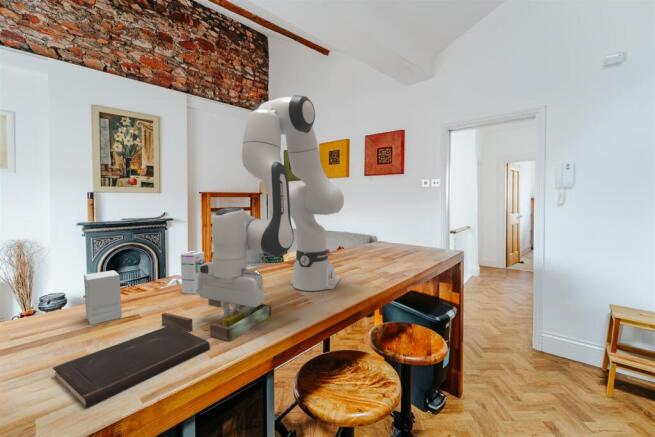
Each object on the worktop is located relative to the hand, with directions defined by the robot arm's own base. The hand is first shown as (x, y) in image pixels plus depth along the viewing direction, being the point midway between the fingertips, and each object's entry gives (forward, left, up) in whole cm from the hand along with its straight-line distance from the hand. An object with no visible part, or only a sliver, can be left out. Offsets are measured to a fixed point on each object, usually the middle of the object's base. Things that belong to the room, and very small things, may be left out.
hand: (230, 317), depth 82 cm
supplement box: (+12, -35, -2) cm, 37 cm away
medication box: (-1, +3, -2) cm, 4 cm away
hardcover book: (+23, -4, -2) cm, 23 cm away
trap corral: (-2, -4, -2) cm, 5 cm away
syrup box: (-16, -31, -2) cm, 35 cm away
